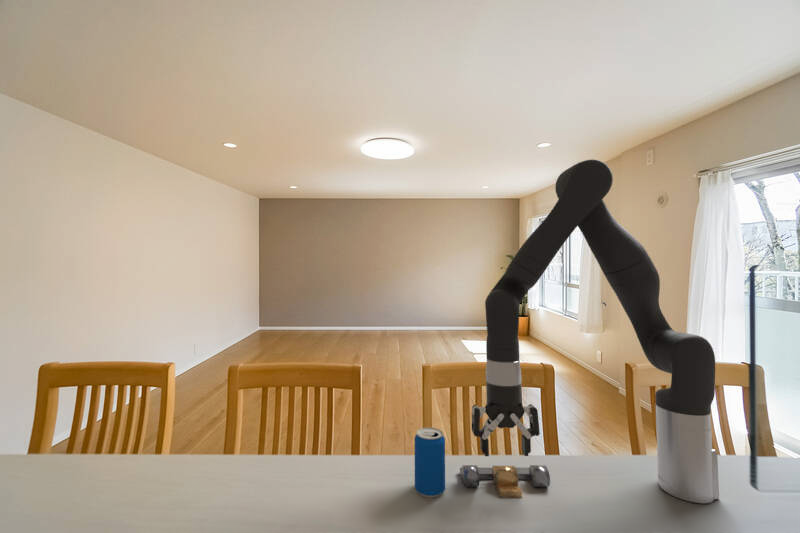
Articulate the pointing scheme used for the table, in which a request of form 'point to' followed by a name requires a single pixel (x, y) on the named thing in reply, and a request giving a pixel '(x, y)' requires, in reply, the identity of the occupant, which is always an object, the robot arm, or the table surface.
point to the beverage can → (430, 462)
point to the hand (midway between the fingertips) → (505, 454)
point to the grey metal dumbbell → (533, 473)
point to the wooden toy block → (506, 481)
